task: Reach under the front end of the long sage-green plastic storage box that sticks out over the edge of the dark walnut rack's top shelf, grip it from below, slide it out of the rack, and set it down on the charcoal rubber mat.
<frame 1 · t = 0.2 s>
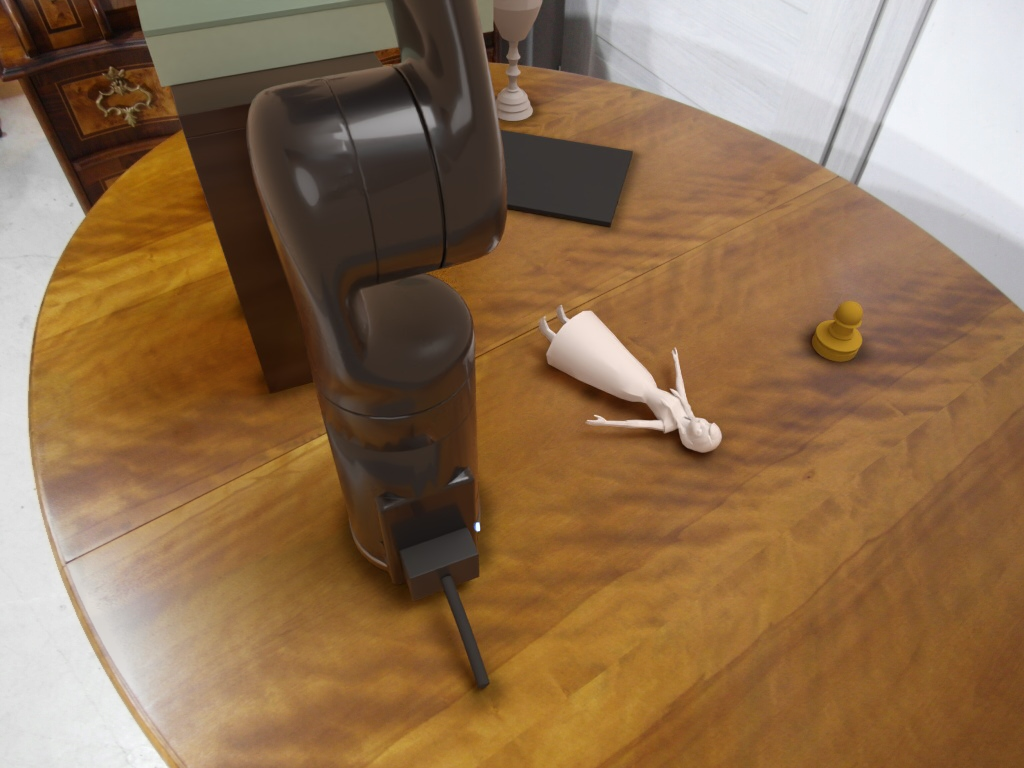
chess piece: (833, 347, 69), on the table
chalice: (512, 111, 95), on the table
rack: (329, 326, 70), on the table
mat: (524, 172, 86), on the table
plastic bottle: (355, 129, 92), on the table
woman figurine: (625, 394, 65), on the table
storage box: (329, 43, 52), point 25 cm above the table, touching rack
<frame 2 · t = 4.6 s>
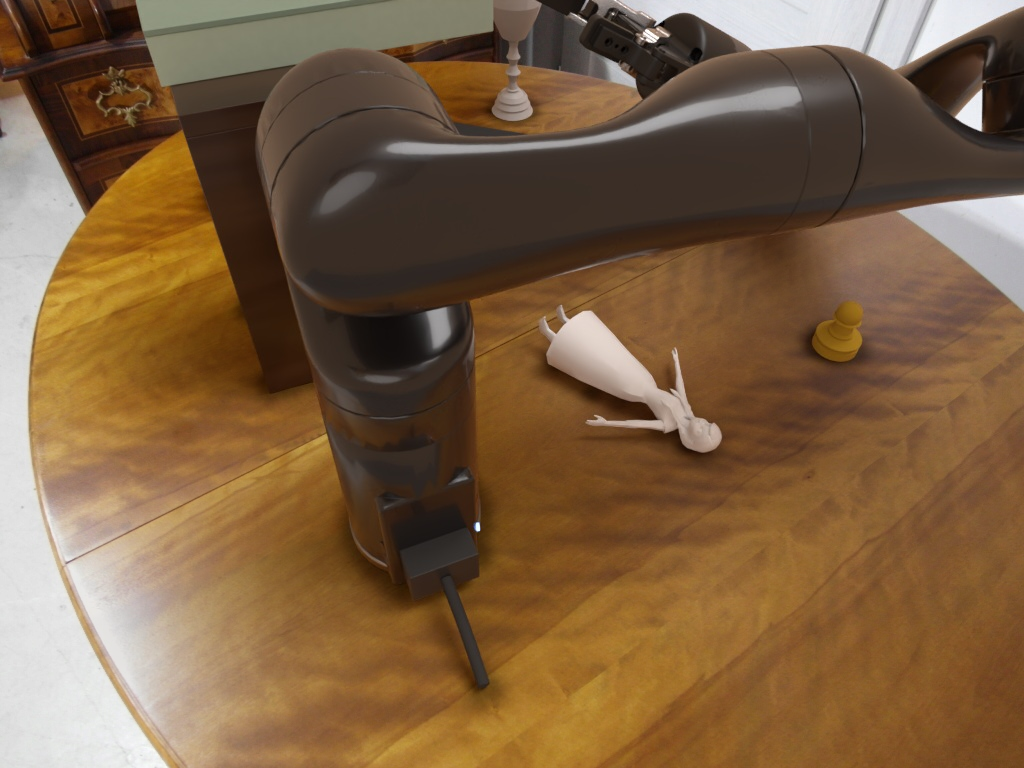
hand: (560, 4, 57), 25 cm above the table, tool pointing upward, fingers open, 8 cm apart
nothing on the table moved.
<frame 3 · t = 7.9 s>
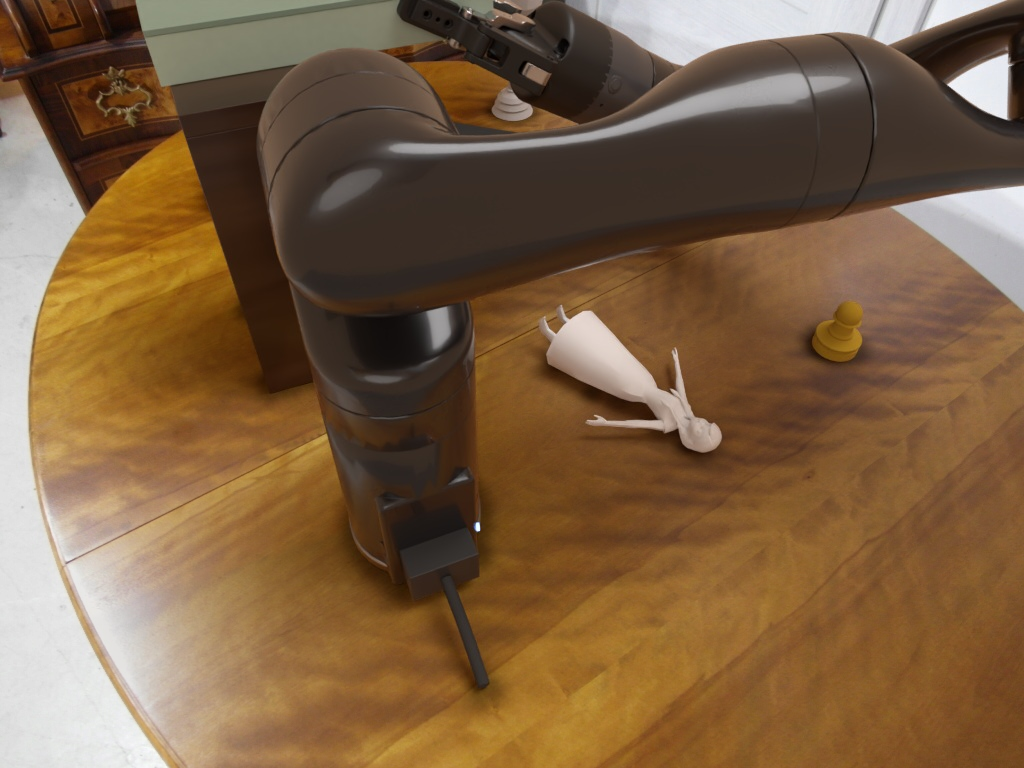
storage box: (328, 43, 52), point 25 cm above the table, touching gripper, rack
everything else where it was.
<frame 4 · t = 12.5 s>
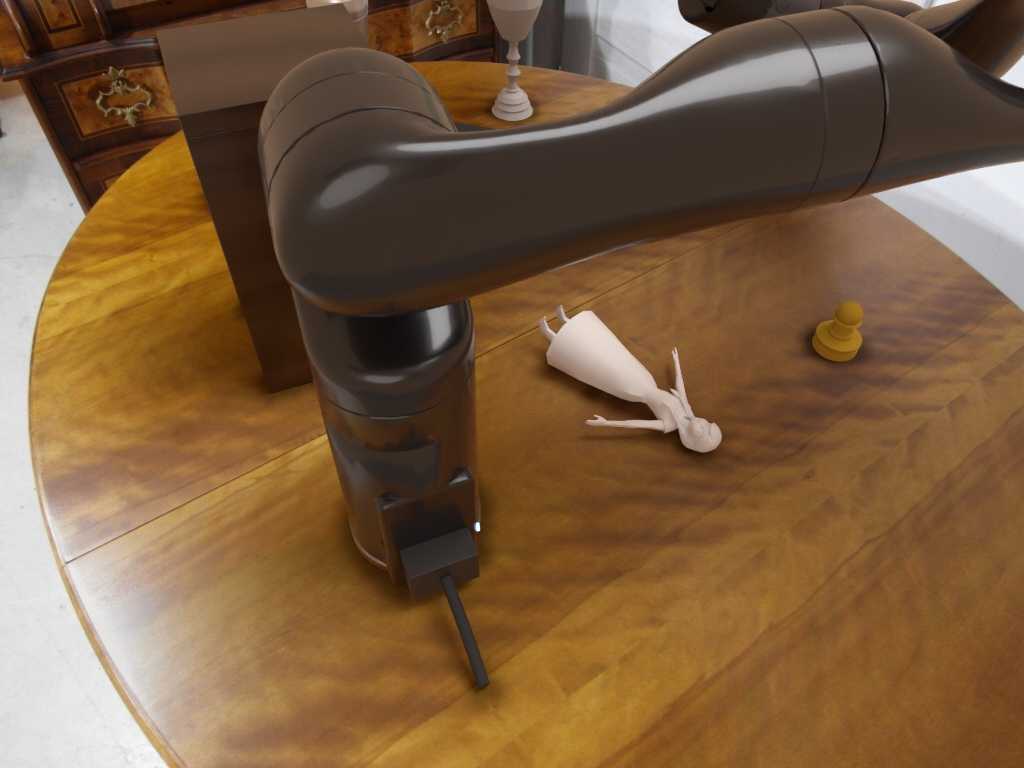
when the fingers open (11 cm above the table, at t = 17.4 s): storage box drops 5 cm, resting on mat.
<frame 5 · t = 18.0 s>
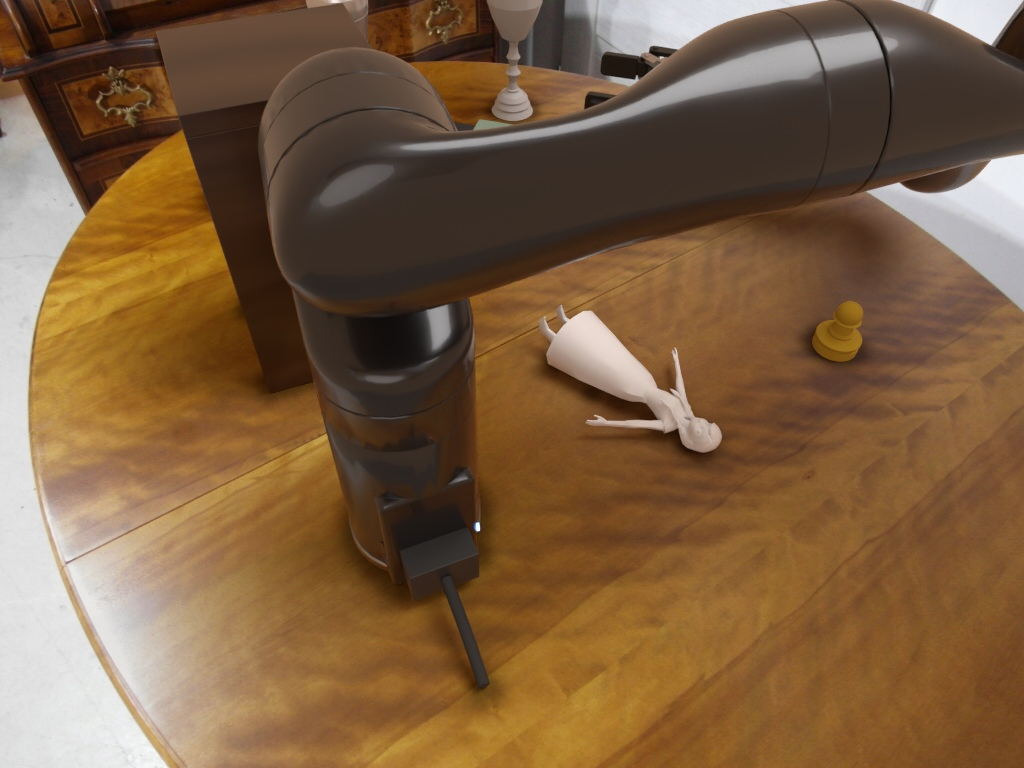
hand: (593, 82, 77), 11 cm above the table, tool horizontal, fingers open, 8 cm apart
storage box: (569, 173, 85), point 1 cm above the table, touching mat
everything else where it was.
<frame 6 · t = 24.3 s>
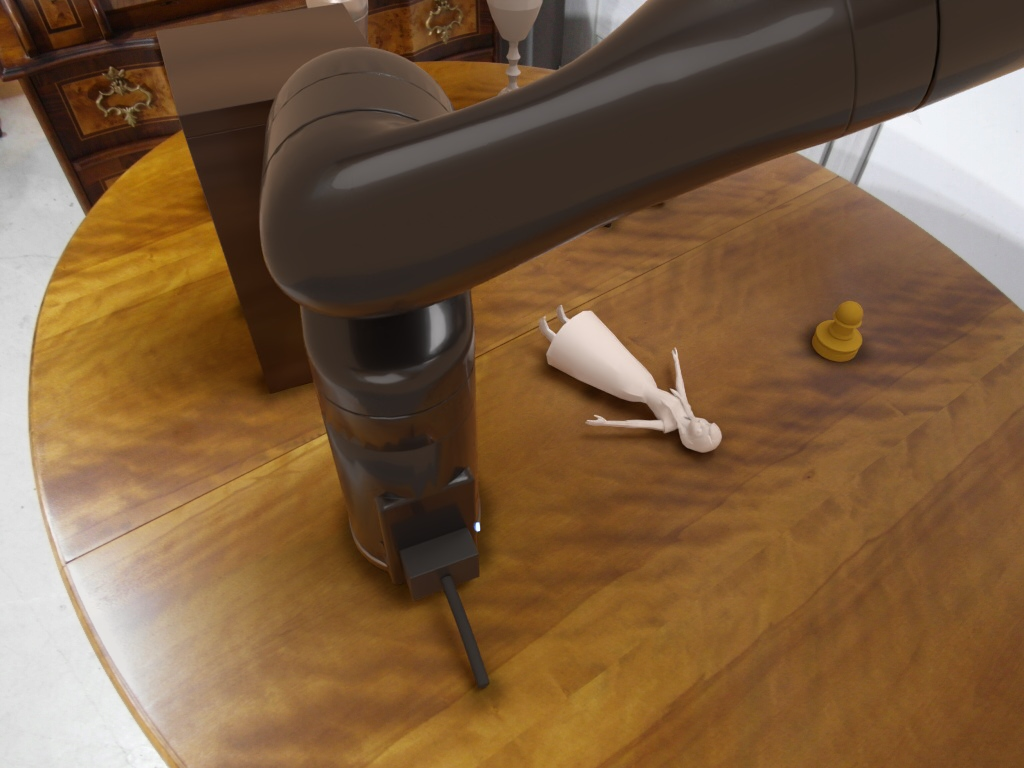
nothing on the table moved.
at the end: storage box inside the target area on the mat (5.0 cm from its centre), point 0.6 cm above the mat's base; the gripper is holding nothing; storage box moved 38.1 cm from its start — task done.
